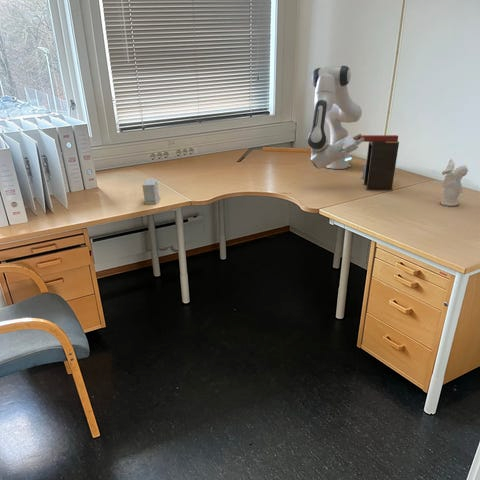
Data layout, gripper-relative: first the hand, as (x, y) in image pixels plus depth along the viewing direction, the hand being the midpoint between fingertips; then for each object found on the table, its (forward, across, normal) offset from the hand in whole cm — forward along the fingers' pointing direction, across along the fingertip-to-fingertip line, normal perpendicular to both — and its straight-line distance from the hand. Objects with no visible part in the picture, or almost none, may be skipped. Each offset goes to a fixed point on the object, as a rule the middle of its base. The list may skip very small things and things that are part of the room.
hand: (362, 136), depth 262 cm
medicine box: (-5, +20, +30) cm, 36 cm away
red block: (+6, 0, +6) cm, 8 cm away
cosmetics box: (-114, -26, -32) cm, 121 cm away
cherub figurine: (+22, -27, +46) cm, 58 cm away
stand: (-4, +3, +31) cm, 31 cm away
